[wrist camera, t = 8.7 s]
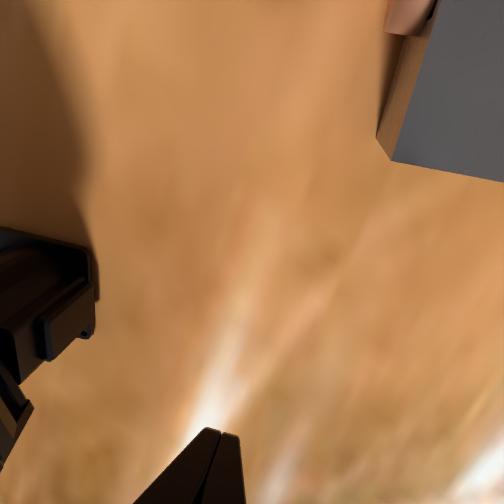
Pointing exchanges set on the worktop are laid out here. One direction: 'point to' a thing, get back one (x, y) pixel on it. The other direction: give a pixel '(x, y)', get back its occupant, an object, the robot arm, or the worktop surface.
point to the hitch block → (450, 92)
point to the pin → (407, 16)
